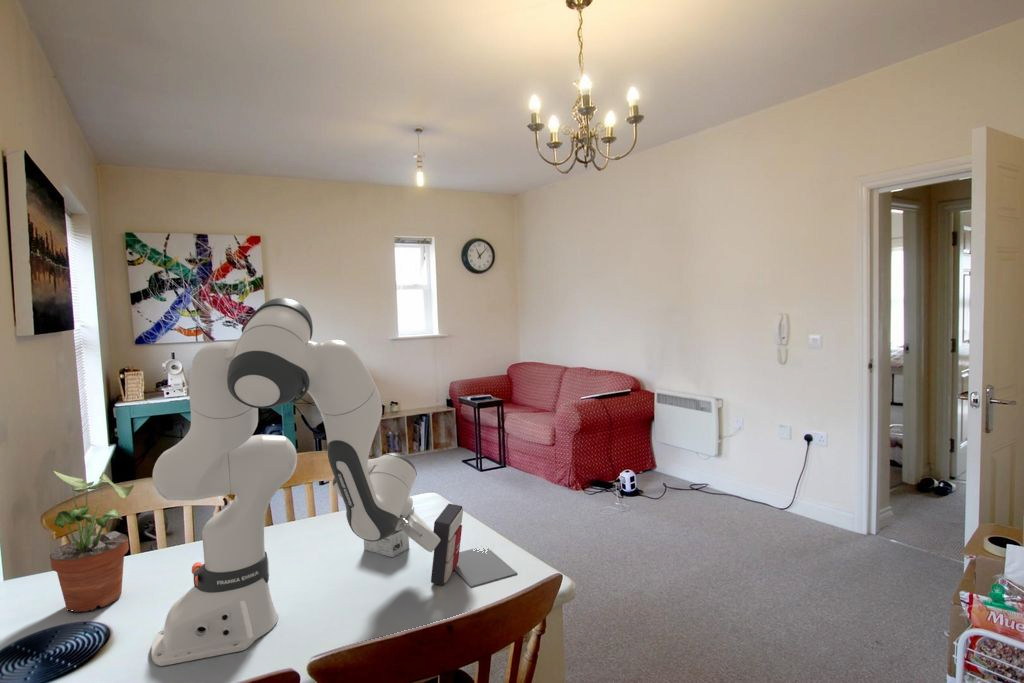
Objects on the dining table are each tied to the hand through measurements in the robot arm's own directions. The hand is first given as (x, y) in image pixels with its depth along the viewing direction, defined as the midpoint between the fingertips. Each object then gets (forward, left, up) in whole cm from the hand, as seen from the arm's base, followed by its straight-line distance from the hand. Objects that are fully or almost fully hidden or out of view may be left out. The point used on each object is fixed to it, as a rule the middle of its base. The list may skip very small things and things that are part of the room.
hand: (437, 542), depth 134 cm
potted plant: (-70, +31, -9) cm, 77 cm away
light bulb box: (-6, +23, -9) cm, 25 cm away
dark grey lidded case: (+2, +1, -8) cm, 8 cm away
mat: (+11, +1, -8) cm, 14 cm away
